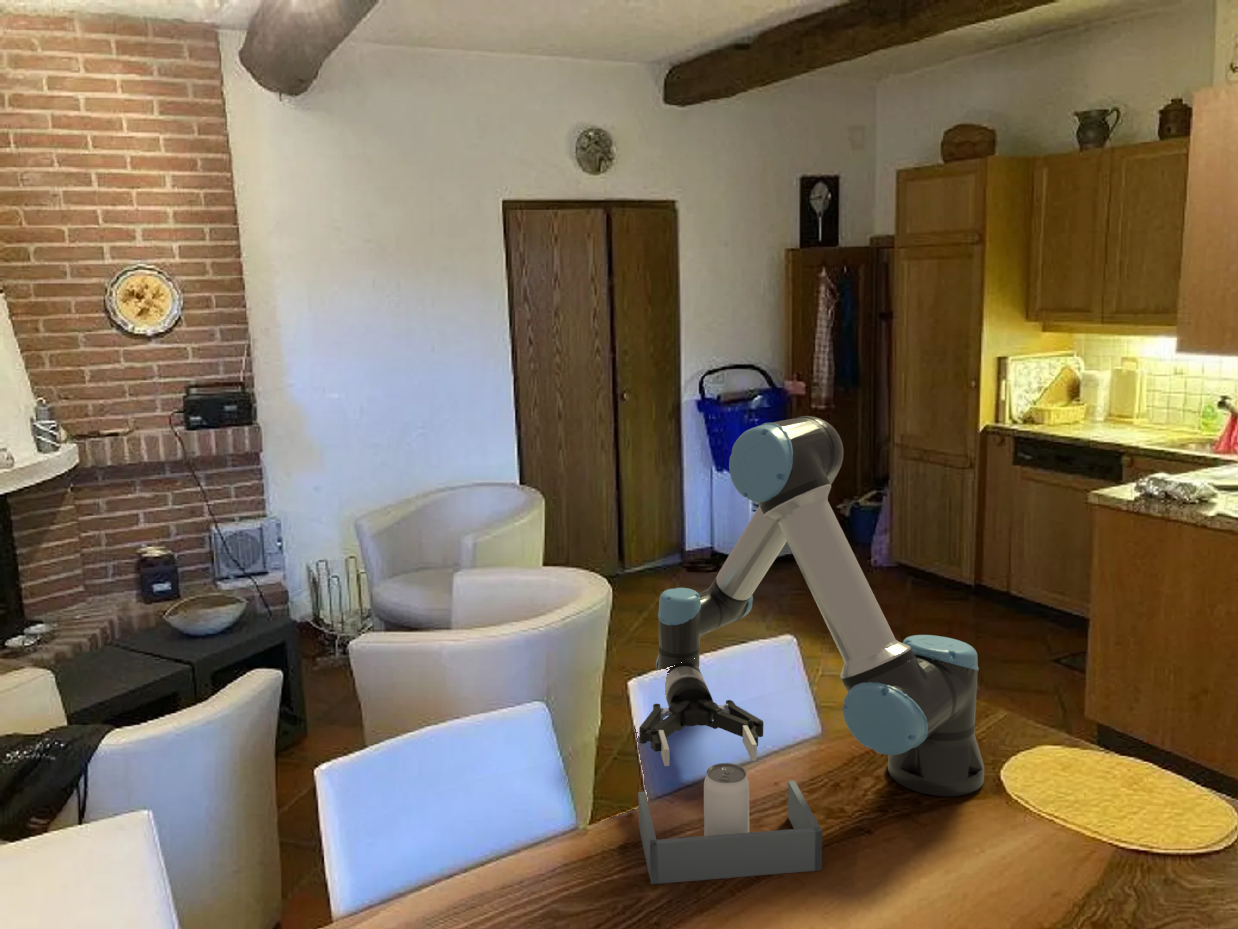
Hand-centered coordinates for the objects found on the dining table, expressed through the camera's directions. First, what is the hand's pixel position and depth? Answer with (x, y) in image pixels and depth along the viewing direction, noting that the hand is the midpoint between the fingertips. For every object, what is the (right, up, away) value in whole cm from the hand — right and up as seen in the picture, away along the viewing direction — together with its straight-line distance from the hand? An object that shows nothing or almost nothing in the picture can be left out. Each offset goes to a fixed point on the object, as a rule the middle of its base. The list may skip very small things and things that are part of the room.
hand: (710, 755), depth 151 cm
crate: (+2, -11, -8) cm, 14 cm away
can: (+2, -11, -8) cm, 14 cm away
